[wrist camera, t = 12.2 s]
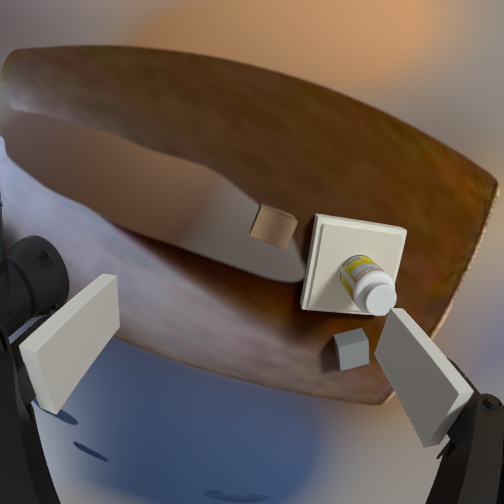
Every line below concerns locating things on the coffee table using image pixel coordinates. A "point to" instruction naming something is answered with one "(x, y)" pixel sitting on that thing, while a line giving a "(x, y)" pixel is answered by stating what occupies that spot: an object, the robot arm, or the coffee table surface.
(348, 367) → the grey matte cube
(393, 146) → the coffee table surface
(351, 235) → the podium
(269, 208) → the walnut block
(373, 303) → the supplement bottle
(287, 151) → the coffee table surface
